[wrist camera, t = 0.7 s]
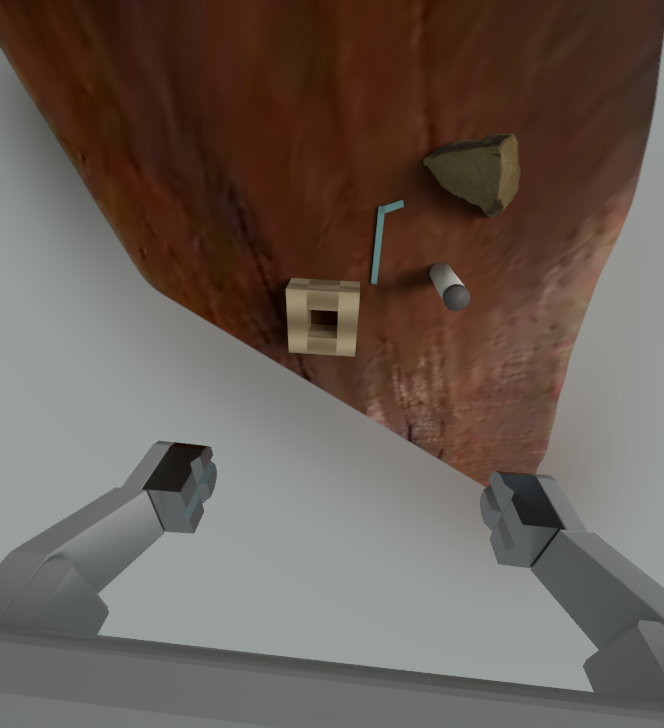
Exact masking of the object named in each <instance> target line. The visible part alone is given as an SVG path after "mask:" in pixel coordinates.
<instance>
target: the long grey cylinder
mask: <svg viewBox="0 0 664 728" xmlns="http://www.w3.org/2000/svg"><path fill="white" fill-rule="evenodd" d="M429 274H430V278H431V279H432V281H433V283H434V285H435V287H436V289H437V290H438V292H439V294H440V296H441V298H442V300H443V302H444V303H445V305H446V307H447V308H448V309H450V310H453V311H458V310H461V309H463V308H465V307H466V306H467V305H468V303H469V301H470V294H469V292H468V290H467V289H466V288H465V286H464V285H463V284H462V282H461V281H460V280H459V279H458V277H457V276H456V275H455V273H454V272H453V271H452V269H451V268H450V267H449V265H448V264H446V263H444V262H438V263H436V264H434V265H433V266H432V267H431V269H430V273H429Z"/></svg>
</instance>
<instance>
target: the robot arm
mask: <svg viewBox="0 0 664 728" xmlns="http://www.w3.org/2000/svg"><path fill="white" fill-rule="evenodd" d="M212 456H213V453H212V449H211V447H209V446H202V445H193V444H185V443H176V442H164V441H158V442H156V443H155V444H154V445H152V447H151V448H150V449H149V451H148V452H147V453H146V455H145V456H144V458H143V459H142V460H141V462H140V463H139V464H138V466H137V467H136V469H135V470H134V471H133V473H132V474H131V475H130V477H129V478H128V479H127V481H126V482H125V484H124V485H123V486H122V487H121V488H114V489H113V490H111V491H109V492H108V493H106V494H104V495H103V496H101V497H100V498H98V499H96V500H95V501H93V502H91V503H90V504H88V505H86V506H85V507H83V508H82V509H80V510H78V511H77V512H75V513H73V514H72V515H70V516H69V517H67V518H65V519H63V520H62V521H60V522H58V523H57V524H55V525H54V526H52V527H50V528H49V529H47V530H45V531H44V532H42V533H40V534H39V535H37V536H36V537H34V538H32V539H31V540H29V541H27V542H26V543H24V544H22V545H21V546H19V547H17V548H16V549H14V550H12V551H11V552H10V553H9V554H8V555H7V556H6V558H5V559H4V560H3V561H2V562H1V563H0V728H664V588H663V587H662V586H661V585H659V584H658V583H657V582H656V581H654V580H653V579H651V577H649V576H648V575H647V574H645V573H644V572H643V571H642V570H640V569H639V568H638V567H637V566H635V565H634V564H633V563H632V562H630V561H629V560H628V559H627V558H625V557H624V556H623V555H621V554H620V553H619V552H618V551H616V550H615V549H614V548H613V547H611V546H610V545H608V544H607V543H606V542H605V541H604V540H602V539H601V538H600V537H599V536H597V535H596V534H595V533H590V532H588V531H587V529H586V528H585V527H584V524H583V523H582V521H581V520H580V518H579V516H578V515H577V513H576V512H575V510H574V508H573V507H572V505H571V503H570V502H569V500H568V499H567V497H566V495H565V494H564V492H563V490H562V489H561V487H560V485H559V484H558V482H557V481H556V479H555V478H553V477H552V476H549V475H538V474H529V473H516V472H503V471H494V472H493V473H491V475H490V477H489V482H490V486H489V487H487V488H485V489H484V490H483V493H482V495H481V501H480V508H481V514H482V517H483V520H484V523H485V524H486V525H487V526H488V527H489V528H490V529H491V530H492V531H493V532H492V535H491V537H490V541H491V544H492V547H493V550H494V553H495V556H496V559H497V562H498V564H503V565H510V566H518V567H527V568H532V569H531V571H532V572H533V573H534V574H535V575H536V576H537V578H538V579H539V580H540V581H541V583H542V584H543V585H544V586H545V587H546V588H547V590H548V591H549V592H550V593H551V594H552V595H553V597H554V598H555V599H556V600H557V601H558V602H559V604H560V605H561V606H562V607H563V608H564V609H565V611H566V612H567V613H568V614H569V615H570V617H571V618H572V619H573V620H574V621H575V622H576V624H577V625H578V626H579V627H580V628H581V629H582V631H583V632H584V633H585V634H586V635H587V636H588V637H589V639H590V640H591V641H592V642H593V643H594V645H595V646H596V647H597V648H598V649H599V651H598V652H596V653H595V654H594V655H592V656H591V657H590V658H588V659H587V660H586V661H585V663H584V665H583V667H584V669H585V672H586V674H587V677H588V679H589V681H590V684H591V686H592V688H593V691H594V692H586V691H577V690H569V689H559V688H551V687H543V686H534V685H526V684H516V683H508V682H500V681H491V680H482V679H474V678H465V677H456V676H448V675H439V674H431V673H422V672H413V671H404V670H396V669H387V668H379V667H369V666H361V665H353V664H344V663H336V662H327V661H318V660H310V659H301V658H292V657H284V656H275V655H266V654H257V653H249V652H240V651H231V650H223V649H214V648H206V647H197V646H189V645H179V644H171V643H163V642H154V641H144V640H137V639H128V638H119V637H111V636H102V635H97V634H98V632H99V630H100V628H101V627H102V625H103V623H104V621H105V619H106V618H107V616H108V614H109V612H108V607H107V606H106V605H105V603H104V602H103V601H102V599H101V598H100V597H99V595H98V593H99V592H100V591H101V590H102V589H103V588H105V586H107V585H108V584H109V583H110V582H111V581H112V580H113V579H114V578H116V577H117V576H118V575H119V574H120V573H121V572H122V571H123V570H124V569H125V568H127V566H129V565H130V564H131V563H132V562H133V561H134V560H135V559H136V558H137V557H139V556H140V555H141V554H142V553H143V552H144V551H145V550H146V549H147V548H148V547H149V546H151V545H152V544H153V543H154V542H155V541H156V540H157V539H158V538H159V537H161V536H162V535H163V534H164V531H168V532H181V533H195V530H196V528H197V526H198V524H199V522H200V519H201V517H202V515H203V513H204V509H203V505H202V503H204V502H205V501H206V500H207V499H209V498H210V497H211V495H212V492H213V490H214V487H215V483H216V478H217V477H216V476H217V471H216V466H215V464H214V463H213V462H211V461H210V460H211V458H212Z"/></svg>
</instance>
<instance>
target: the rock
mask: <svg viewBox="0 0 664 728" xmlns="http://www.w3.org/2000/svg"><path fill="white" fill-rule="evenodd" d="M423 164H424V165H426V166H428V167H429V169H430V170H431V172H432V173H433V174H434V175H435V177H436V179H437V180H438V182H439V183H440V184H441V186H442V187H443V188H445V189H447V190H448V191H449V192H451V193H452V194H453V195H456V196H458V197H460V198H463V199H465V200H467V201H468V202H469V203H472V204H474V205H477V206H480V208H481V209H482V210H483V211H484V213H485V214H486V215H487V216H489V217H494V216H497V215H498V214H499V213H500V212H502V211H503V210H504V209H505V208H506V206H507V205H508V204H509V203H510V202H511V201H512V200H513V199H514V196H515V194H516V193H517V191H518V188H519V180H520V178H519V177H520V167H519V158H518V148H517V141H516V139H515V137H514V135H513V134H495V135H490V136H487V137H486V138H483V139H481V140H461V141H456V142H453V143H451V144H448V145H445V146H443V147H440V148H438V149H436V150H435V151H434V152H432V153H431V154H430V155H429V156H428V157H426V158H424V161H423Z"/></svg>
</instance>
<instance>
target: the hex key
mask: <svg viewBox="0 0 664 728" xmlns="http://www.w3.org/2000/svg"><path fill="white" fill-rule="evenodd" d="M402 207H404V204H403V200H399V201H396V202H393V203H390V204H387V205H385V206H379V208H378V218H377V228H376V238H375V248H374V258H373V268H372V278H371V284H377V277H378V268H379V259H380V250H381V241H382V232H383V222H384V213H387V212H390V211H393V210H396V209H399V208H402Z"/></svg>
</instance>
